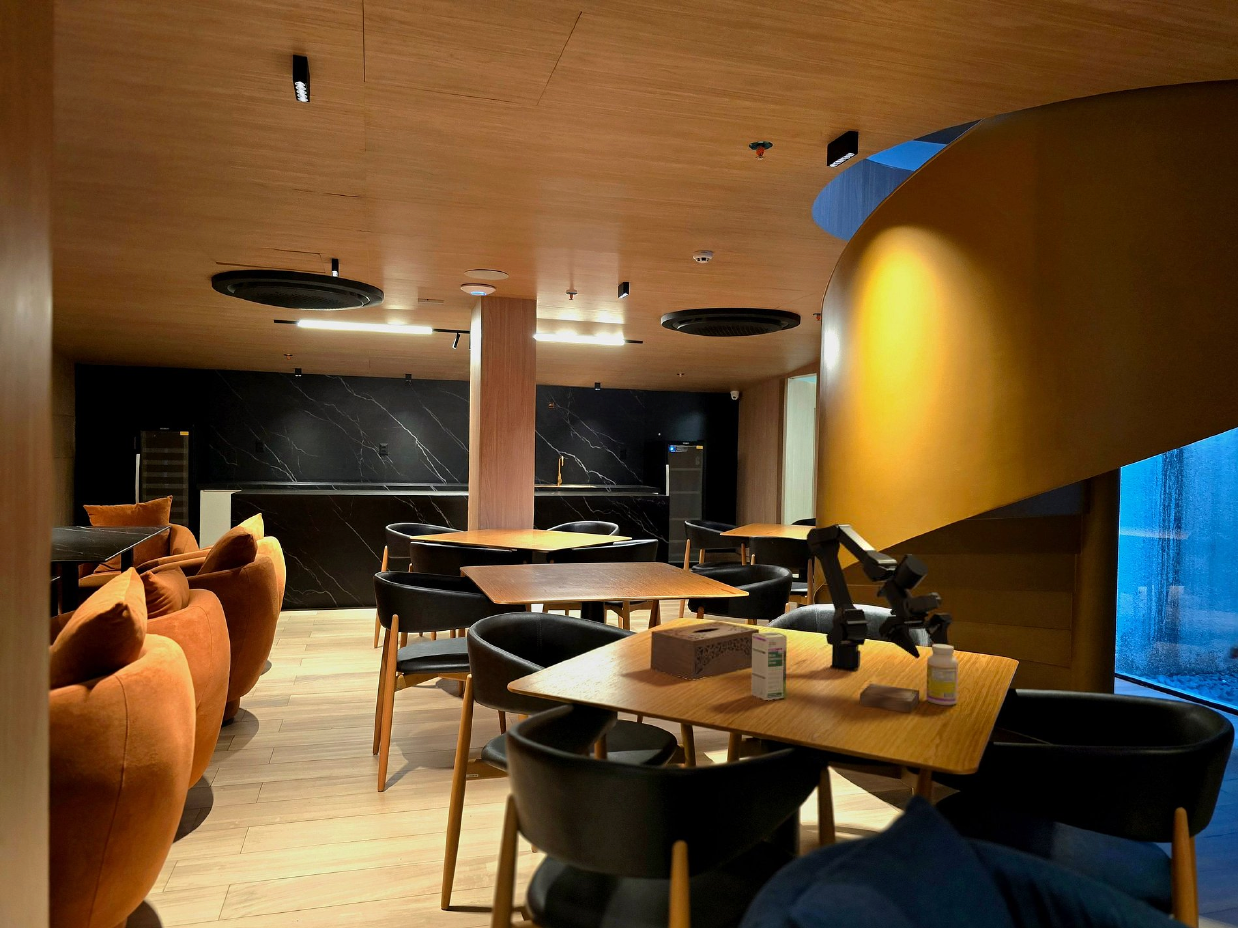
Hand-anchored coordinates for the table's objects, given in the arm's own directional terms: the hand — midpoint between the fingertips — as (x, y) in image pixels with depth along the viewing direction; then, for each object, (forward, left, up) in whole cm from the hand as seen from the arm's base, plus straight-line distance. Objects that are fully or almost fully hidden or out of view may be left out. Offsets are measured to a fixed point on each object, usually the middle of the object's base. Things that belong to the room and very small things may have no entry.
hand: (933, 655), depth 197 cm
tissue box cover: (-56, -3, -10) cm, 57 cm away
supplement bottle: (+2, -2, -10) cm, 11 cm away
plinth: (-8, -10, -10) cm, 16 cm away
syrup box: (-33, -21, -10) cm, 40 cm away
